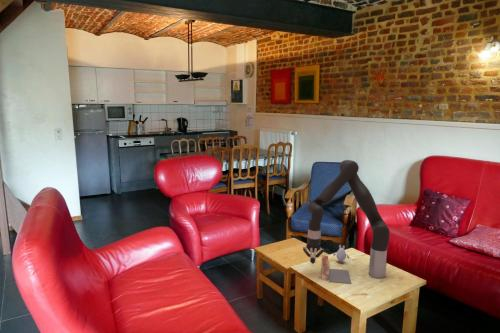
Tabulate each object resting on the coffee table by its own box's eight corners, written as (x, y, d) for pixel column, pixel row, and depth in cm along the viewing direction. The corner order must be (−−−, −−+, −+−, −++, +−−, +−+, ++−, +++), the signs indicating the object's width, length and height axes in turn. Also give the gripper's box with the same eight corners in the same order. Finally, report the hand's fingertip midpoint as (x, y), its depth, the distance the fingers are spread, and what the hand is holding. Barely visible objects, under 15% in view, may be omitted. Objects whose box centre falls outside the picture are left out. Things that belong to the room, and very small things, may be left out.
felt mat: (348, 270, 222) (348, 270, 222) (351, 283, 207) (351, 283, 207) (327, 269, 224) (327, 268, 224) (329, 282, 209) (329, 281, 209)
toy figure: (349, 262, 234) (351, 245, 232) (348, 266, 229) (349, 248, 226) (333, 258, 239) (334, 242, 236) (331, 262, 233) (332, 245, 231)
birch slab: (326, 270, 222) (327, 255, 220) (328, 280, 211) (329, 264, 209) (321, 270, 223) (321, 255, 221) (322, 279, 211) (323, 264, 209)
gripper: (324, 234, 216) (323, 261, 219) (302, 233, 218) (301, 259, 221) (325, 239, 209) (324, 267, 212) (302, 237, 210) (301, 265, 214)
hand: (312, 263), depth 216 cm, fingers closed
